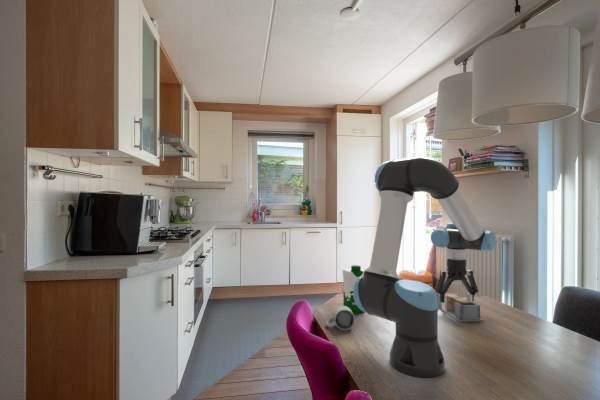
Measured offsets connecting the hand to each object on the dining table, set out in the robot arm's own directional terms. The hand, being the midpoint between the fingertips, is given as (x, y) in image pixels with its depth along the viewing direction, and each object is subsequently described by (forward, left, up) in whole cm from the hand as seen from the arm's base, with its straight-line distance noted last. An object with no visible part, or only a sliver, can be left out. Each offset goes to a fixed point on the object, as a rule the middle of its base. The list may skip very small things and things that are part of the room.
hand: (457, 309), depth 137 cm
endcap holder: (0, 0, -1) cm, 1 cm away
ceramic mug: (-10, +54, -2) cm, 54 cm away
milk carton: (+7, +44, -2) cm, 44 cm away
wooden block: (0, 0, -1) cm, 1 cm away
